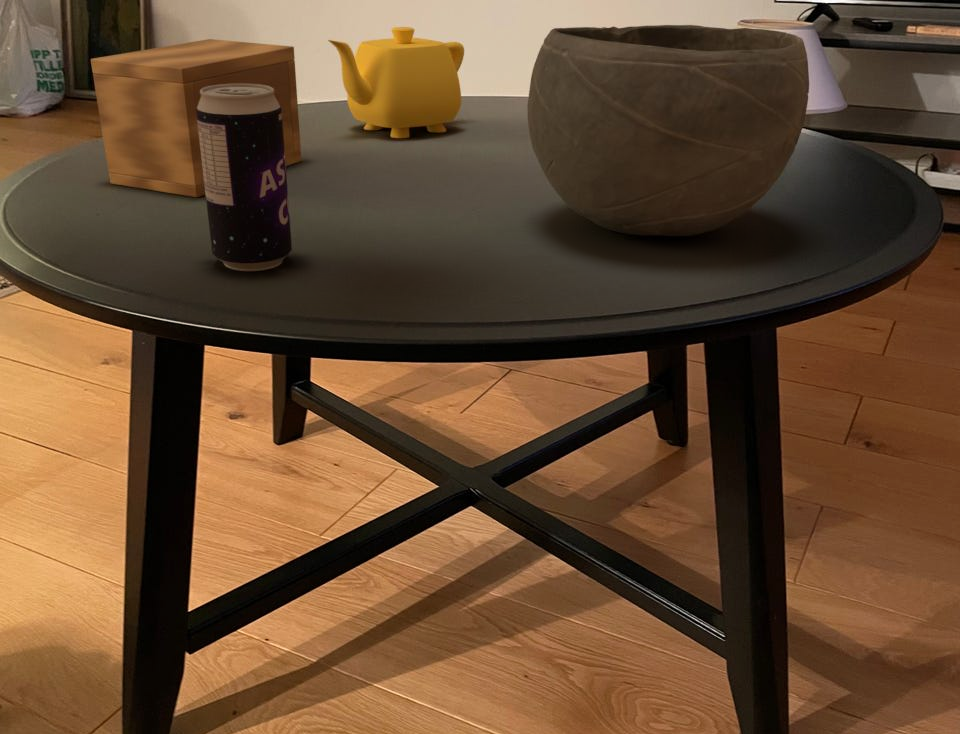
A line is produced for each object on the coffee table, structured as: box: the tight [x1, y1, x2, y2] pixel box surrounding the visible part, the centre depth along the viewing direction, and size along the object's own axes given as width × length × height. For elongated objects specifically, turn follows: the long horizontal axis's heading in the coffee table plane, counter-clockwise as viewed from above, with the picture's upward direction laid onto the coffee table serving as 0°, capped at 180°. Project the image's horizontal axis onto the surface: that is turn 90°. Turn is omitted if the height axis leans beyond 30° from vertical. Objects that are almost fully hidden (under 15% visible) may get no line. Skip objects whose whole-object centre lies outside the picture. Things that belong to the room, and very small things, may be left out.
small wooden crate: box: [90, 38, 302, 198], centre depth 95 cm, size 10×16×11 cm, turn 154°
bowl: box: [527, 24, 810, 237], centre depth 81 cm, size 21×21×15 cm
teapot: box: [327, 26, 465, 139], centre depth 114 cm, size 18×11×11 cm, turn 130°
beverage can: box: [196, 84, 293, 272], centre depth 72 cm, size 6×6×12 cm
